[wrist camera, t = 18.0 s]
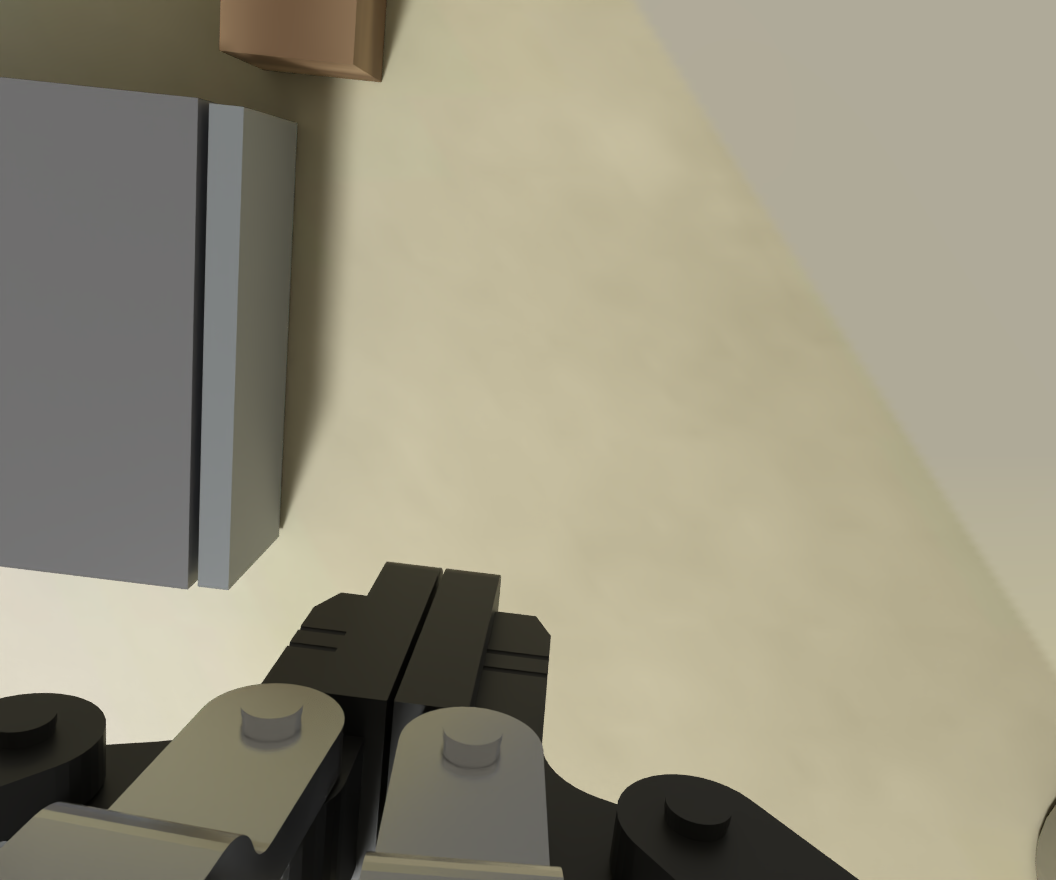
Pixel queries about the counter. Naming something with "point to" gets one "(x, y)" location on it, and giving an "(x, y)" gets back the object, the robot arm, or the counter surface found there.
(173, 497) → the housing
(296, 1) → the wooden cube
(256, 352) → the tray
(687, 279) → the counter surface
